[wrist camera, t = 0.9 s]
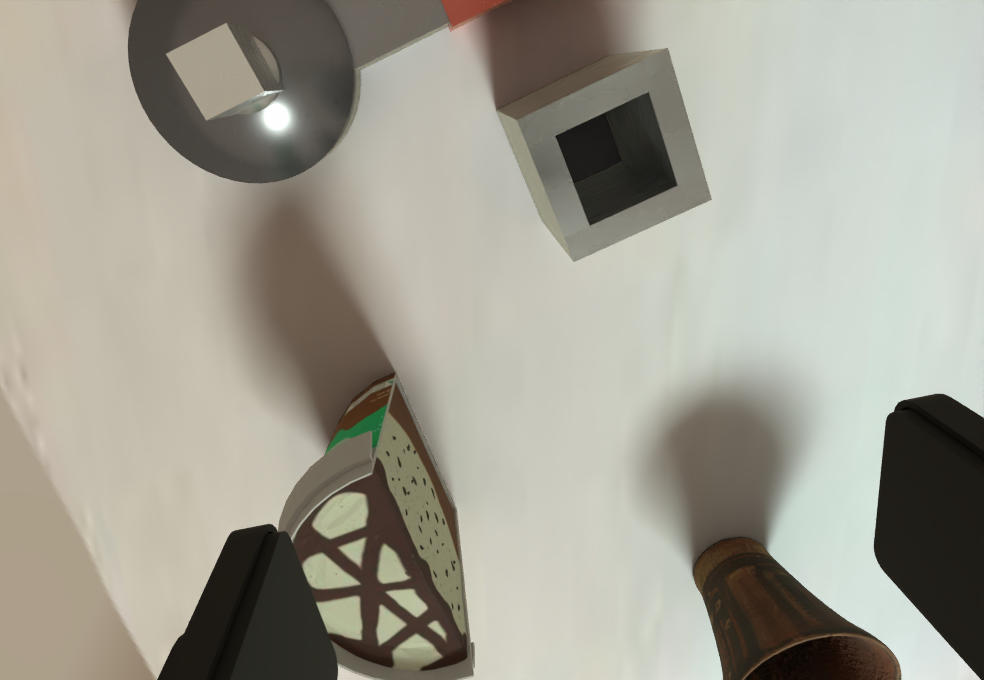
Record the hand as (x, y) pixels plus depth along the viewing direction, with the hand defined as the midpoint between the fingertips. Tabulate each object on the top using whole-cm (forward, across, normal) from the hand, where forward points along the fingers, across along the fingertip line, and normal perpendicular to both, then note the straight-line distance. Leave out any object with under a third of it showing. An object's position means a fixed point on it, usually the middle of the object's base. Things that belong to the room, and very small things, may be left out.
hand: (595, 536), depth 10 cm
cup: (+22, -11, +24) cm, 34 cm away
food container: (+21, +8, +11) cm, 26 cm away
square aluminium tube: (+21, -4, -3) cm, 22 cm away
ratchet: (+21, +2, -10) cm, 23 cm away
